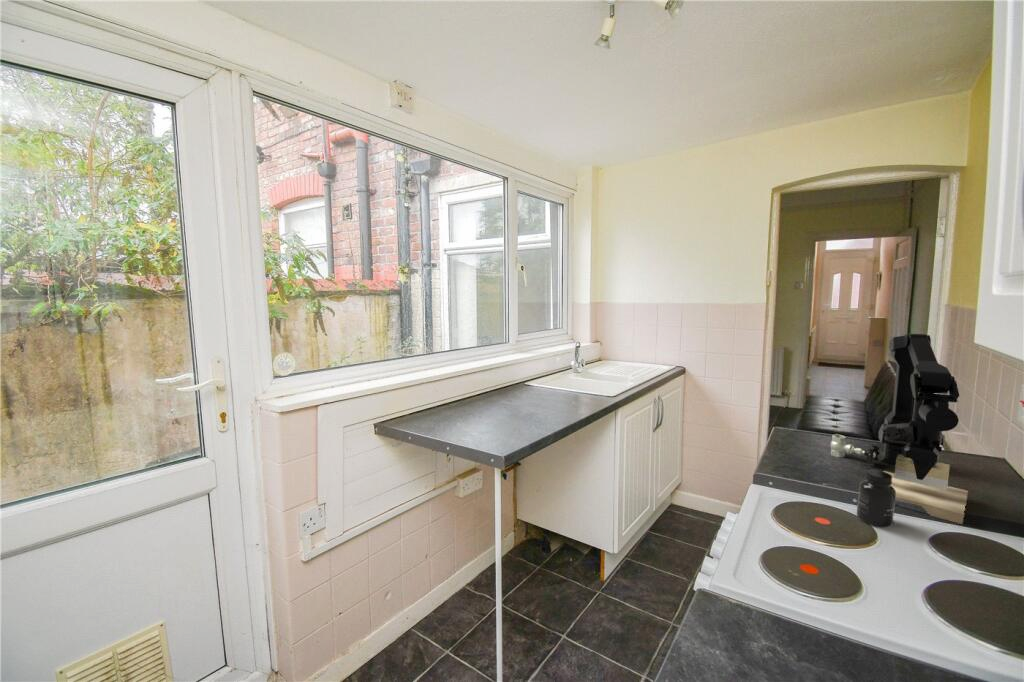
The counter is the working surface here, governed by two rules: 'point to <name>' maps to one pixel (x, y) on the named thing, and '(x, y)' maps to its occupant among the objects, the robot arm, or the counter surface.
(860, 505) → the supplement bottle
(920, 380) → the robot arm
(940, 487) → the housing
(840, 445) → the valve
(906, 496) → the crown molding piece
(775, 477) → the counter surface
